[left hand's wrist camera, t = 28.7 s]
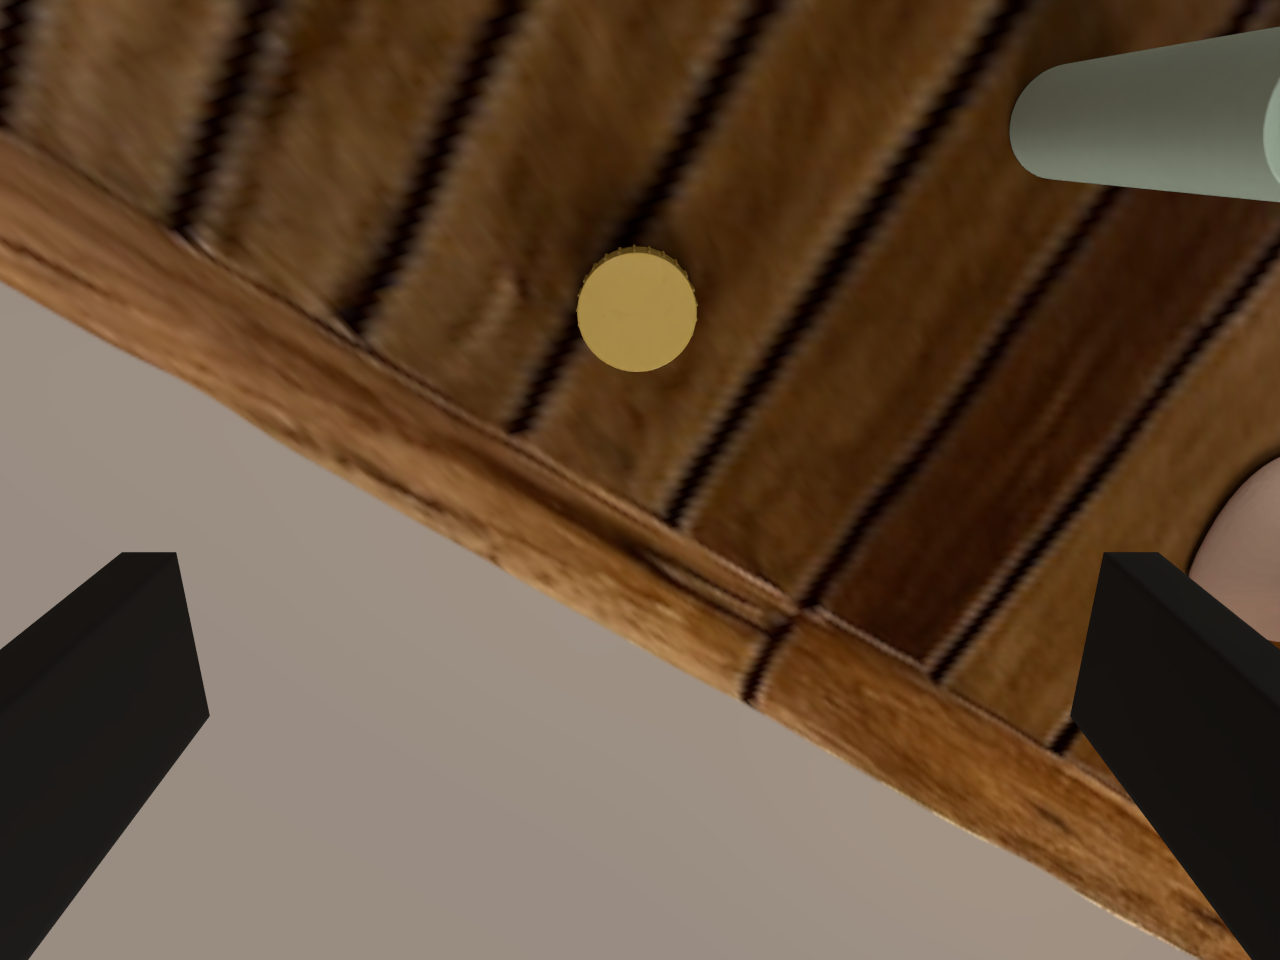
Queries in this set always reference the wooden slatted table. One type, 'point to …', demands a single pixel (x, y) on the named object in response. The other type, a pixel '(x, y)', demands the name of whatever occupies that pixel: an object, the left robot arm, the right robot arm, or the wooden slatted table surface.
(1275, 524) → the anatomical model
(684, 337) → the lid
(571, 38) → the wooden slatted table surface
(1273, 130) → the pale green cylindrical bottle
